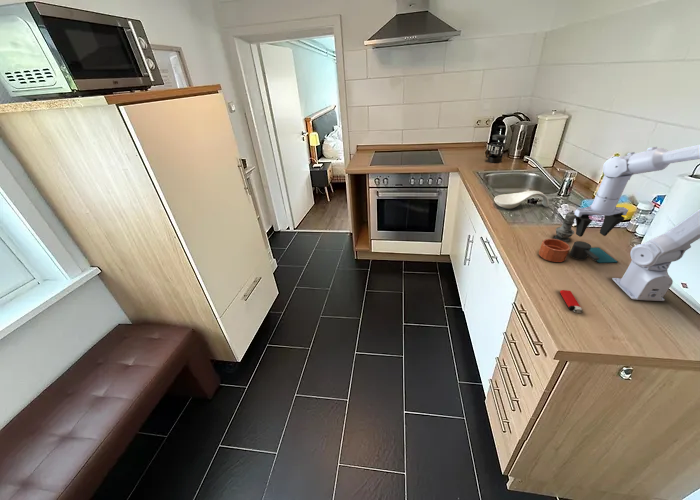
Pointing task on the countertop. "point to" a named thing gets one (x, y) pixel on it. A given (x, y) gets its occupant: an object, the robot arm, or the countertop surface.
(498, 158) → the french press
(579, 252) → the scoop
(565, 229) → the grey tall lumpy piece
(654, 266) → the robot arm
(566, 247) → the bowl
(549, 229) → the countertop surface
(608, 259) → the cloth
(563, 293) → the lighter
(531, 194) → the spoon rest
